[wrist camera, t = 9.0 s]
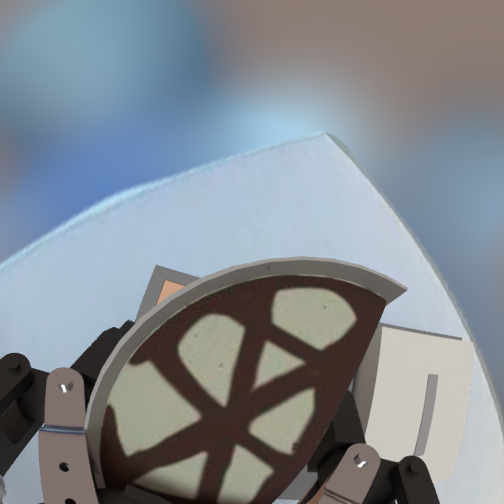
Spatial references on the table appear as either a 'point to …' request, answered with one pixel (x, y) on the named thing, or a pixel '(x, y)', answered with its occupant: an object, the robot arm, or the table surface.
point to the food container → (234, 379)
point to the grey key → (415, 397)
